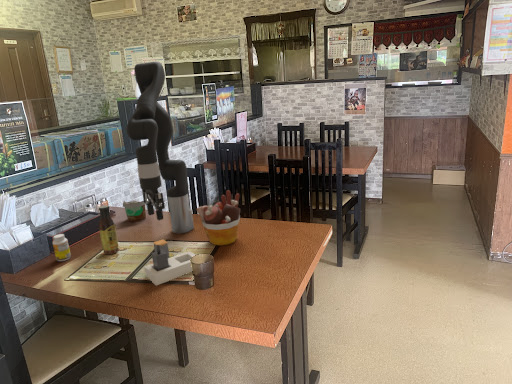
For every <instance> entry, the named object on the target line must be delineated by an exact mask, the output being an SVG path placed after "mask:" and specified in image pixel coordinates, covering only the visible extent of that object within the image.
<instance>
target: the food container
mask: <svg viewBox="0 0 512 384" xmlns="http://www.w3.org/2000/svg"><path fill="white" fill-rule="evenodd" d="M122 207H123V208H124V210H125V214H126V217H127V218H126V219H127V220H128V222H130V223H135V222H136V221H137V222H141V221H143V220H146V219H147V217H146V216H147V215H146V203H144V200H142V201H135V200H134V201H125V200H123V201H122Z"/></svg>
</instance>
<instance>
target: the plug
mask: <svg viewBox="0 0 512 384" xmlns="http://www.w3.org/2000/svg"><path fill="white" fill-rule="evenodd" d="M152 244H153V249H154V252H157V247H156V245H160V249H161V250H163V251H165V252H166V253H167V256H168V258H170V252H169V244H168V242H167V241H166V240H165V239H163V238H162V239H159V240H156V241H152Z"/></svg>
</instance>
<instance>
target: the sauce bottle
mask: <svg viewBox="0 0 512 384" xmlns="http://www.w3.org/2000/svg"><path fill="white" fill-rule="evenodd" d="M98 212H99V214H100V216H99V217H100V220H99V221H98V228H99V235H100V240H101V246H102V247H101V248H102V251H103V254H104V255H112V254H115V253H118V251H119V242H118V240H119V239H118V235H117V229H116V224H115V222H114V220H113V218H112V216H111V213H110V206H109V205H108V204H107V205H106V204H105V205H101V206H99V207H98Z"/></svg>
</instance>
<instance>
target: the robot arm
mask: <svg viewBox="0 0 512 384" xmlns="http://www.w3.org/2000/svg"><path fill="white" fill-rule="evenodd" d="M164 69H165V68H164V66H163V64H162V63H161V62H159V61H148V62H142V63H141V62H140V63H136V64H135V66H134V69H133V70H134V76H135V80H136V84H137V86H138V90H139V92H140V95H139V96H138V97H137V98H138V99H137V102H136V105H135V111H134V112H133V114H132V115H131V117H130V119H129V120H128V122H127V124H126V134H127V136H128V138H129V139H131V140H132V141H144V140H146V141H147V143H146V144H145V145H142V146H139V147H137V148H135V154H136V155H135V156H136V161H137V172H138V181H139V187H140V189H141V190H142V191H141V193H142V198H143V200H142V201H144V203H146V204H145V207H147V214H148V216H152V215H154V214H155V215H156V220H157V221H163V220H164V213H163V210H164V209H166V207H165V201H164V196H163V192H160V191H159V188H161V187H162V180H161V179H163V180H164V181H170V182H171V181H175V185H174V186H172V187H170V188H168V189H167V190H166V196H167V202H168V210H169V216H170V224H171V231H172V233H174V234H185V233H189V232H191V231H192V230H194V229H195V226H194V217H193V210H192V208H190V201H189V200H190V198H189V192H188V191H189V190H188V188H189V181H188V169H187V164H186V162H185V160H183V159H170V156H169V145H170V143H171V140H172V137H173V135H174V127H173V122H172V120H171V116H170V114H169V112H168V111H167V110H166V109H165V108H164V107H163V106H162V104H160V103H159V101H158V100H159V98H160V95H161V92H162V90H163V87H164V84H165V80H166V74H165V70H164Z"/></svg>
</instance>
